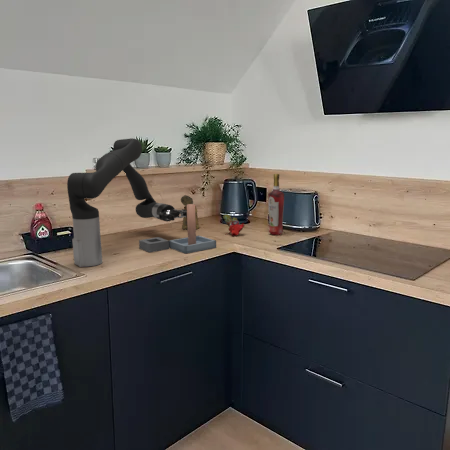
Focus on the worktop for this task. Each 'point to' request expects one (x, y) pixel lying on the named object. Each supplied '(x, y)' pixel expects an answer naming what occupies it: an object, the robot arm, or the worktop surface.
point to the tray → (200, 245)
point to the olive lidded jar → (186, 201)
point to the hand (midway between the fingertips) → (182, 216)
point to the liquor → (276, 208)
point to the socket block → (153, 244)
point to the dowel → (191, 224)
